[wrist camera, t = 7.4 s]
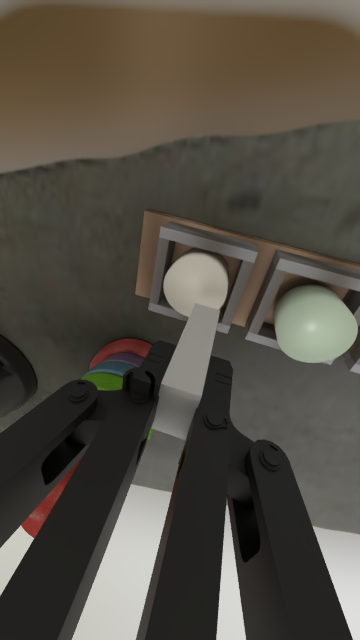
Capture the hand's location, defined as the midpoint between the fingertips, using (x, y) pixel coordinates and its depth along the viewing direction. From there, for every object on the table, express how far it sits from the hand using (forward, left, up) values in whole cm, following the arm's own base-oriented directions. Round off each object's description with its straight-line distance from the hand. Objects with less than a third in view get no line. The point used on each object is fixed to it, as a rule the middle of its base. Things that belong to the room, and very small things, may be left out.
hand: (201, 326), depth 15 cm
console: (+8, 0, -10) cm, 12 cm away
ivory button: (-1, 0, -8) cm, 8 cm away
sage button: (+8, 0, -6) cm, 10 cm away
